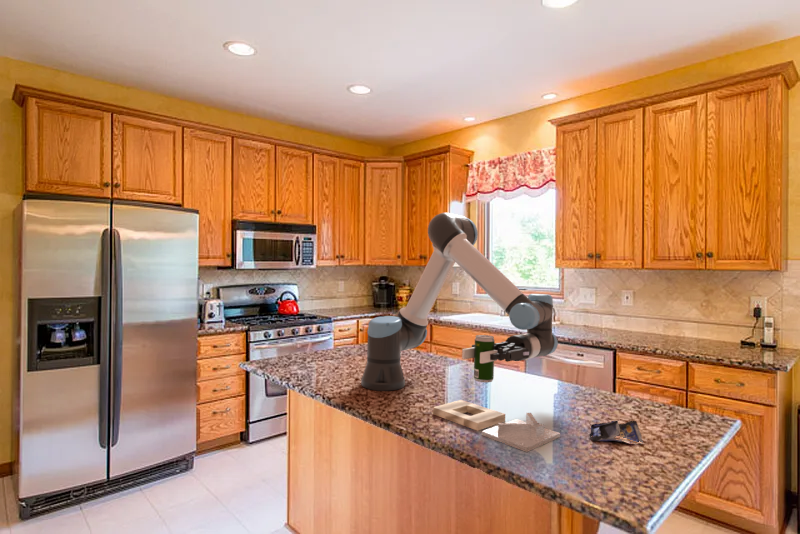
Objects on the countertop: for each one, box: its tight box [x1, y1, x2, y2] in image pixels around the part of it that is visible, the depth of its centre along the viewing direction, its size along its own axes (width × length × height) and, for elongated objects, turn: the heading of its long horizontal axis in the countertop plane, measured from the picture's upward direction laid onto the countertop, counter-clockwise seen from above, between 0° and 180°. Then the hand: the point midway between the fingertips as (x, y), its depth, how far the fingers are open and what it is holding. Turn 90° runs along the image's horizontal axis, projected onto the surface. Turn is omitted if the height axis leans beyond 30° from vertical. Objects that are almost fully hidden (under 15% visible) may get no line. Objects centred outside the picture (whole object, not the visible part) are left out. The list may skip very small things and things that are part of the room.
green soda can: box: [473, 334, 496, 383], centre depth 125 cm, size 5×5×12 cm
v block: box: [481, 412, 561, 453], centre depth 115 cm, size 13×15×4 cm
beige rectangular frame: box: [432, 399, 506, 432], centre depth 128 cm, size 16×12×2 cm
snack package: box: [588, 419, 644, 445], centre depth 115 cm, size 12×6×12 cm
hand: (472, 356), depth 121 cm, fingers closed on green soda can, 5 cm apart
